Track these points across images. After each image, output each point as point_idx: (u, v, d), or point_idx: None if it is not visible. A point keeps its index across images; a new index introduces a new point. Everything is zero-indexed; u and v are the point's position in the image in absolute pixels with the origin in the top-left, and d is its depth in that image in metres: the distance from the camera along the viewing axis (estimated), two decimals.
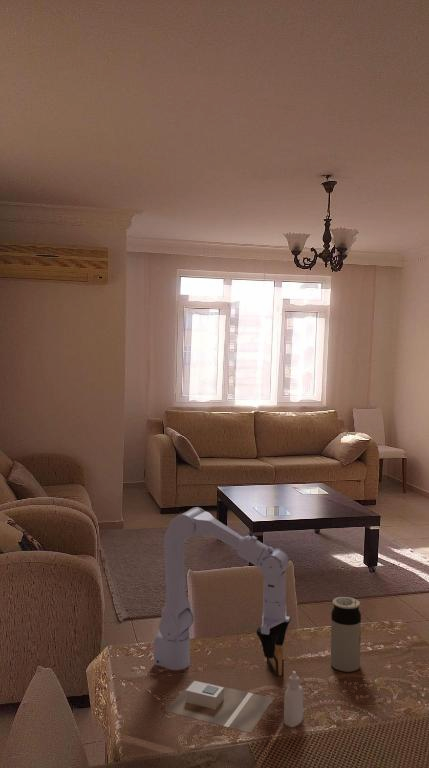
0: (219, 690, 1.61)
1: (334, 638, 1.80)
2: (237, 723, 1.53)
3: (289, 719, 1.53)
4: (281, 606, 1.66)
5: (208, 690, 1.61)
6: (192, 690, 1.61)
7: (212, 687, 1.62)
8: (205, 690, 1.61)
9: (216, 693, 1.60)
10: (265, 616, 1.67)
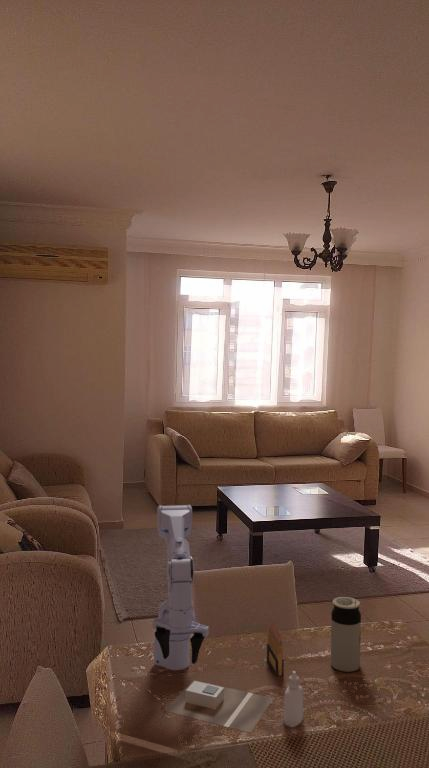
0: (219, 690, 1.61)
1: (334, 638, 1.80)
2: (237, 723, 1.53)
3: (289, 719, 1.53)
4: (171, 613, 1.63)
5: (208, 690, 1.61)
6: (192, 690, 1.61)
7: (212, 687, 1.62)
8: (205, 690, 1.61)
9: (216, 693, 1.60)
10: None
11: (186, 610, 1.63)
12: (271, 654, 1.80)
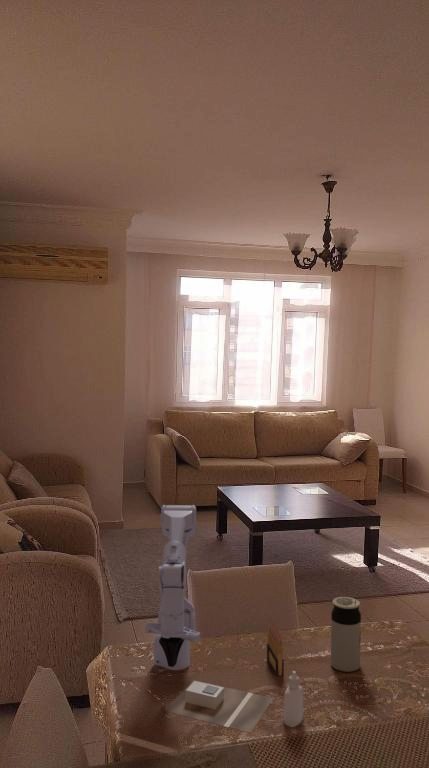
0: (219, 690, 1.61)
1: (334, 638, 1.80)
2: (237, 723, 1.53)
3: (289, 719, 1.53)
4: (162, 618, 1.63)
5: (208, 690, 1.61)
6: (192, 690, 1.61)
7: (212, 687, 1.62)
8: (205, 690, 1.61)
9: (216, 693, 1.60)
10: None
11: (177, 616, 1.62)
12: (271, 654, 1.80)
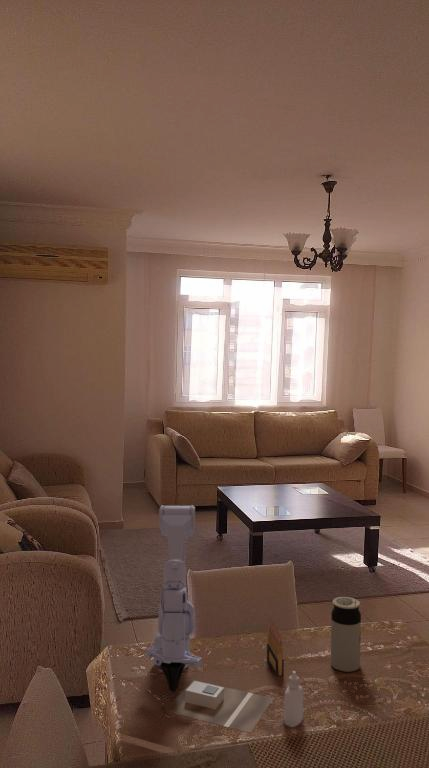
0: (219, 690, 1.61)
1: (334, 638, 1.80)
2: (237, 723, 1.53)
3: (289, 719, 1.53)
4: (164, 643, 1.63)
5: (208, 690, 1.61)
6: (192, 690, 1.61)
7: (212, 687, 1.62)
8: (205, 690, 1.61)
9: (216, 693, 1.60)
10: None
11: (178, 641, 1.62)
12: (271, 654, 1.80)
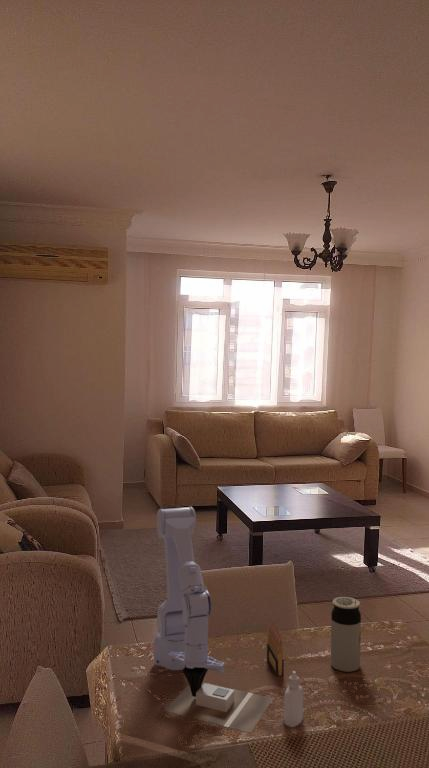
0: (229, 693, 1.60)
1: (334, 638, 1.80)
2: (237, 723, 1.53)
3: (289, 719, 1.53)
4: (186, 648, 1.61)
5: (218, 692, 1.60)
6: (203, 693, 1.60)
7: (222, 689, 1.61)
8: (215, 692, 1.60)
9: (227, 695, 1.59)
10: None
11: (201, 645, 1.60)
12: (271, 654, 1.80)
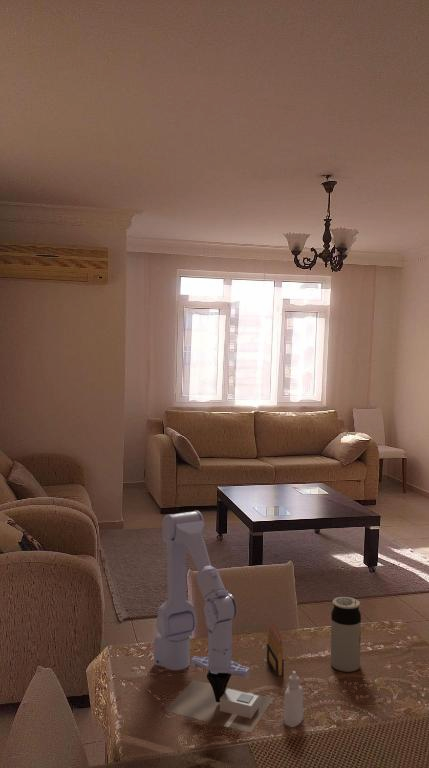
0: (254, 699, 1.58)
1: (334, 638, 1.80)
2: (237, 723, 1.53)
3: (289, 719, 1.53)
4: (210, 653, 1.58)
5: (243, 698, 1.57)
6: (226, 699, 1.57)
7: (246, 695, 1.59)
8: (240, 698, 1.57)
9: (251, 702, 1.56)
10: None
11: (225, 650, 1.57)
12: (271, 654, 1.80)
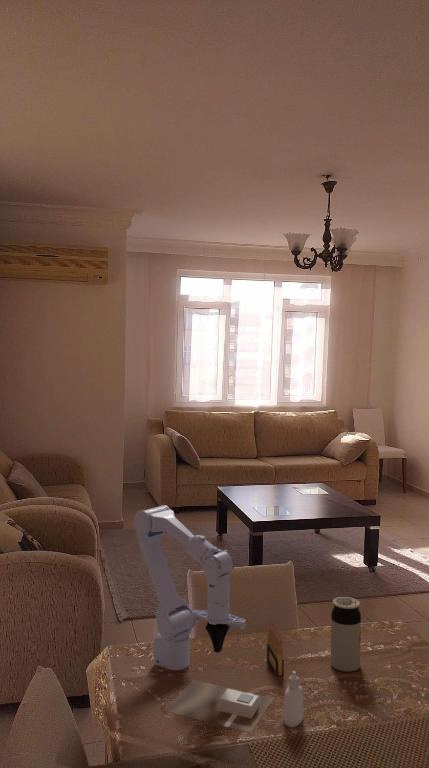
0: (254, 699, 1.58)
1: (334, 638, 1.80)
2: (237, 723, 1.53)
3: (289, 719, 1.53)
4: (209, 605, 1.68)
5: (243, 698, 1.57)
6: (226, 699, 1.57)
7: (246, 695, 1.59)
8: (240, 698, 1.57)
9: (251, 702, 1.56)
10: None
11: (223, 603, 1.67)
12: (271, 654, 1.80)
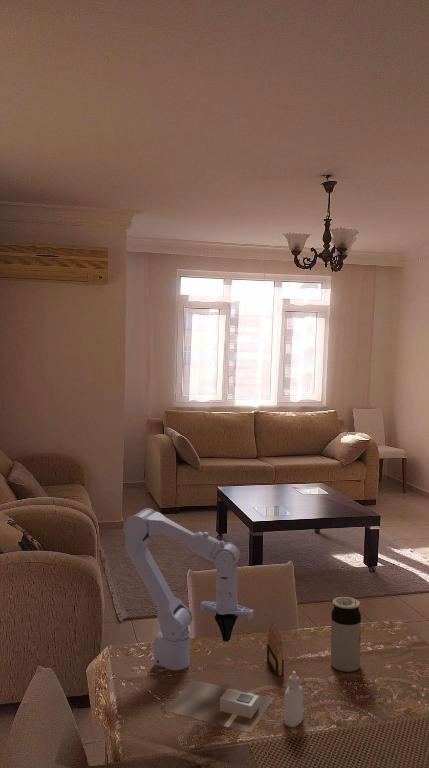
0: (254, 699, 1.58)
1: (334, 638, 1.80)
2: (237, 723, 1.53)
3: (289, 719, 1.53)
4: (218, 596, 1.74)
5: (243, 698, 1.57)
6: (226, 699, 1.57)
7: (246, 695, 1.59)
8: (240, 698, 1.57)
9: (251, 702, 1.56)
10: None
11: (232, 594, 1.73)
12: (271, 654, 1.80)
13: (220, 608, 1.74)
